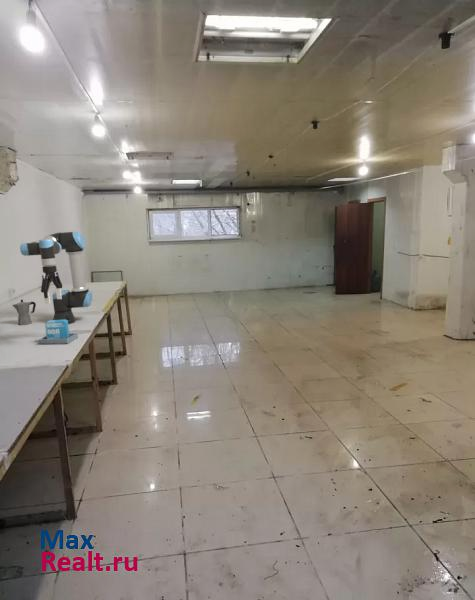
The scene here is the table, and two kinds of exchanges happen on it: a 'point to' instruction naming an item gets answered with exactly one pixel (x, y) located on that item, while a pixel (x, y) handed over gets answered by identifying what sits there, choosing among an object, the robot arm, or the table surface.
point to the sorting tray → (58, 340)
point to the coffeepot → (24, 312)
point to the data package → (57, 329)
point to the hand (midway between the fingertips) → (53, 301)
